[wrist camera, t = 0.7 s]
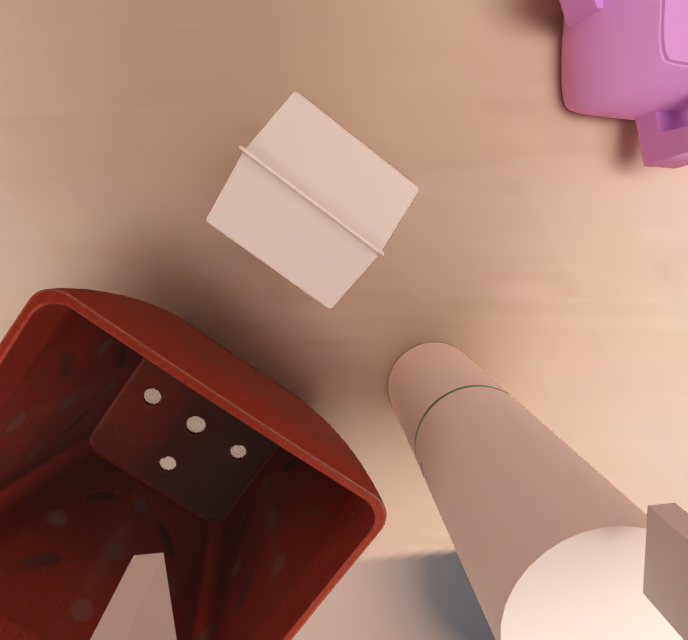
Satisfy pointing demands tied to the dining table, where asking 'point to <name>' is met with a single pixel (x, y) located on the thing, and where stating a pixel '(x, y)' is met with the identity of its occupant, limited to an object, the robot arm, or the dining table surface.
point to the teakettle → (630, 69)
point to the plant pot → (163, 477)
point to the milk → (311, 201)
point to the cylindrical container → (523, 508)
